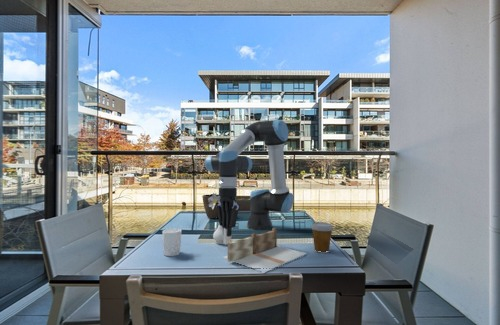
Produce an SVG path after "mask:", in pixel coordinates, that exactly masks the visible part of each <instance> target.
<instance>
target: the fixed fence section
mask: <svg viewBox="0 0 500 325" xmlns="http://www.w3.org/2000/svg"><path fill="white" fill-rule="evenodd" d="M277 235H278V228H277V227H273V228H272V230H270V231H267V232H263V233H261V234H259V233H258V234H257V233H255V232H253V233H251V237H253V254H256V253H259V252H261V251H264V250H267V249H270V248H273V247H276V246H278V242H277V240H278V236H277Z"/></svg>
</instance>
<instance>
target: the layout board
mask: <svg viewBox="0 0 500 325" xmlns="http://www.w3.org/2000/svg"><path fill="white" fill-rule="evenodd" d="M305 254H306V255H307V253H306V252H301V251H298V250H294V249H292V248H288V247H284V246H279V245H277V246H276V247H273V248H270V249H267V250H264V251H261V252H259V253H256V254H251V255H248V256H246V257H243V258H240V259H237V260H234V262H233V263H235V262H237V263H239V264H238V265H240V264H242V265H241V266H243V265H245V266H249V267H252V268H261V269H263V268H264V269H266V268H267V269H269V268H270V269H272V268H275V267H278V266H280V265H282V266H284V265H286V264H285V263H287V262H289V263H291V262H293V261H295V260H294V259H296V260H297V258H298V259H300V258H302V257H304V256H303V255H305ZM306 255H305V256H306ZM301 256H302V257H301ZM299 257H300V258H299ZM224 258H225V260H227V259H228V255H225V256H223V259H224ZM292 260H293V261H292ZM290 261H291V262H290ZM237 263H236V264H237ZM283 264H284V265H283ZM287 264H288V263H287ZM245 266H244V267H245ZM280 267H281V266H280ZM278 268H279V267H278ZM275 269H276V268H275Z"/></svg>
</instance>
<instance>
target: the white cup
mask: <svg viewBox="0 0 500 325" xmlns="http://www.w3.org/2000/svg"><path fill="white" fill-rule="evenodd" d="M181 245H182V229H180V228H166V229H163V230H162V248H163V255H164V256H166V257H176V256H178V255H180V253H181V247H182V246H181Z"/></svg>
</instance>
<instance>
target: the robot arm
mask: <svg viewBox="0 0 500 325" xmlns="http://www.w3.org/2000/svg"><path fill="white" fill-rule="evenodd" d="M288 139H289V128H288V126H287V124H286V122H285V121H284V120H281V119H273V120H271V119H270V120H262V121H261V120H260V121H255V122H253V123H251V124H249V125H248V126H246V127H245V128H243V129H242V130H241V131H240V133H239V135H238V136H237V137H235V138H234V139H233V140H232V141H230V143H228V144H227V145H226V146H225V147H224V148H223V149H221V150H220V151H219V152H218V153H217V154H216V155H210V156H207V157H206V159H205V160H204V166H205V168H206V170H207V171H208V172H214V173H219V174H218V186H219V188H218V195H219V196H220V201H219V202H217V203H216V206H217V211H218V218H217V219H218V226H219V225H220V226H222V227H223V244H222V245H226V246H227V245H228V243H230V242H232V240H231V239H232V237H231V234H232V232H233V231H232V229H233V228H235V227H236V226H237V220H238V214H239V210H240V209H241V205H240V204H238V203H237V200H236V197H237V193H238V188H237V186H238V173H244V174H245V173H249V172H250V171H251V170H252V168H253V161H252V159H251V158H250V157H249V156H246V155H241V153H242V152H244V150H246V148H247V147H248V146H251V145H253V144H255V143H258V142H259V143H260V142H264V146H265V147H266V148H267V153H268V154H267V155H268V165H269V174H270V184H271V187H270V189H268V188H264V189H255V190H252V191H251V192H250V197H249V199H250V200H249V208H250V209H249V212H250V213H249V217H248V221H247V224H246V228H248V229H251V230H257V231H258V230H259V231H261V230H269V229H273V228H272V226H273V224H272V223H273V222H272V221H271V216H270V212H276V213H283V214H287V213H289V212H290V211H291V210H292V207H293V206H294V194H293V193H292V192H290V188H289V187H287V181H286V179H287V178H286V166H285V156H284V146H285V144H286V142H287V140H288ZM236 203H237V204H236Z"/></svg>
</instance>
